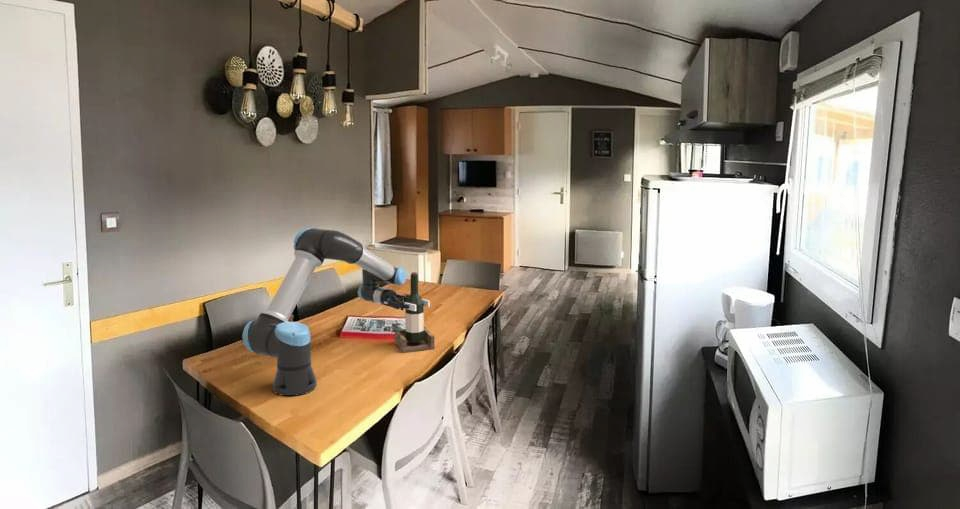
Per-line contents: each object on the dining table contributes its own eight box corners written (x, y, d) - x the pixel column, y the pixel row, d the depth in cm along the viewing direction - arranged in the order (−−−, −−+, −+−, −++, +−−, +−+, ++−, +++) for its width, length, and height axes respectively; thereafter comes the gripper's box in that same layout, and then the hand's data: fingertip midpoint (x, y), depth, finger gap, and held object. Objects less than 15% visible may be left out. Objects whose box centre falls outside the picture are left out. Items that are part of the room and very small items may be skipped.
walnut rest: (434, 349, 244) (434, 336, 243) (403, 353, 238) (403, 340, 237) (424, 339, 257) (424, 326, 255) (394, 342, 251) (394, 330, 250)
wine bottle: (420, 342, 242) (420, 275, 237) (402, 341, 244) (401, 274, 238) (426, 336, 250) (426, 271, 245) (408, 335, 252) (408, 270, 246)
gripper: (401, 300, 263) (438, 309, 250) (368, 309, 247) (405, 319, 234) (401, 284, 262) (438, 292, 249) (368, 293, 246) (405, 302, 232)
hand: (422, 306), depth 241 cm, fingers closed on wine bottle, 8 cm apart
